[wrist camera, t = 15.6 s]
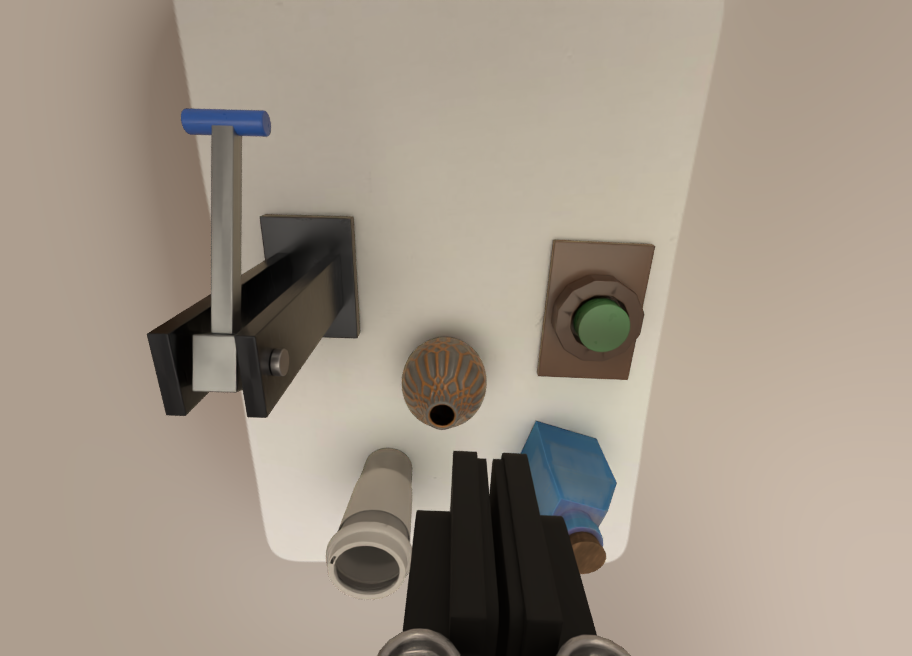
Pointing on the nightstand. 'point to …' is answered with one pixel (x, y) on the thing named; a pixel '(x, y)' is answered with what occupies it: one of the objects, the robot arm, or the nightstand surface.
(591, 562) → the perfume bottle
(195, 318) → the switch bracket
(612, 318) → the light button
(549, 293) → the button block
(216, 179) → the light lever
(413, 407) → the vase
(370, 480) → the cup
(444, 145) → the nightstand surface
